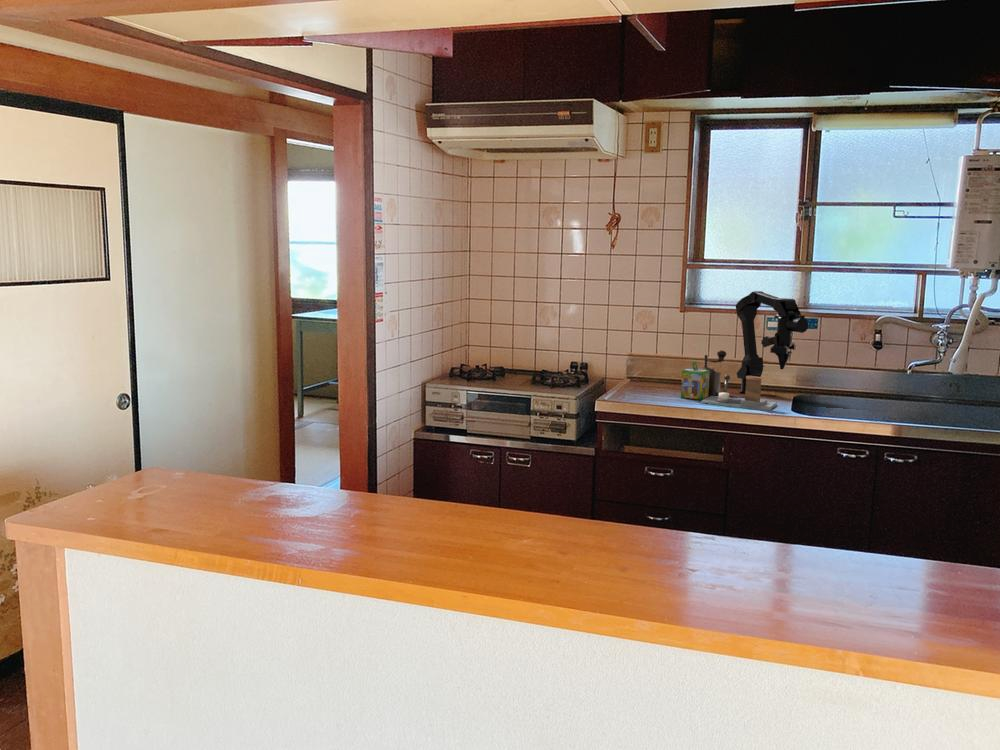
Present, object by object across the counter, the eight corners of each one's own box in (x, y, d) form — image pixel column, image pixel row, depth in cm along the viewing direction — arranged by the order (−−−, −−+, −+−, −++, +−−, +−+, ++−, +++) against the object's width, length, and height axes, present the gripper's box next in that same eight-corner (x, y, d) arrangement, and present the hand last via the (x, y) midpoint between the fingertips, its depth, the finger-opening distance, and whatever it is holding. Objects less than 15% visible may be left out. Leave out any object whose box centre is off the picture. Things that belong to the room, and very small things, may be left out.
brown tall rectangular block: (746, 403, 331) (748, 375, 330) (760, 404, 329) (761, 377, 327) (744, 404, 328) (746, 376, 327) (758, 405, 326) (759, 378, 324)
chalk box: (702, 400, 341) (704, 364, 339) (680, 398, 346) (681, 362, 344) (709, 397, 349) (711, 361, 347) (687, 395, 354) (689, 359, 352)
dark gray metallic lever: (722, 394, 341) (725, 375, 343) (727, 394, 340) (731, 376, 342) (721, 392, 339) (724, 373, 341) (726, 393, 338) (729, 374, 340)
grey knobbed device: (713, 397, 350) (716, 353, 347) (688, 394, 356) (690, 351, 353) (725, 392, 363) (728, 350, 360) (700, 389, 369) (702, 348, 366)
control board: (711, 398, 347) (711, 387, 347) (776, 405, 334) (777, 394, 334) (700, 403, 335) (701, 392, 334) (768, 410, 322) (769, 399, 322)
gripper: (769, 327, 351) (766, 364, 354) (758, 330, 335) (755, 370, 337) (797, 329, 346) (794, 367, 348) (787, 332, 330) (784, 372, 332)
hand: (781, 369), depth 342 cm, fingers closed
